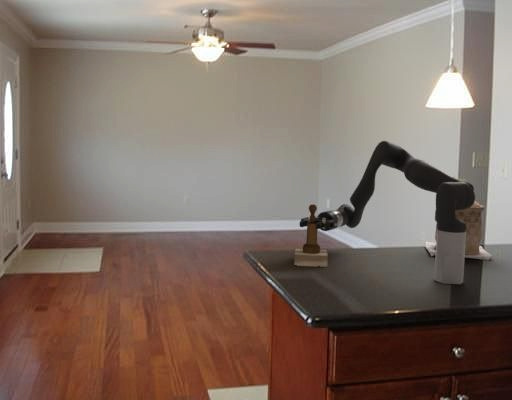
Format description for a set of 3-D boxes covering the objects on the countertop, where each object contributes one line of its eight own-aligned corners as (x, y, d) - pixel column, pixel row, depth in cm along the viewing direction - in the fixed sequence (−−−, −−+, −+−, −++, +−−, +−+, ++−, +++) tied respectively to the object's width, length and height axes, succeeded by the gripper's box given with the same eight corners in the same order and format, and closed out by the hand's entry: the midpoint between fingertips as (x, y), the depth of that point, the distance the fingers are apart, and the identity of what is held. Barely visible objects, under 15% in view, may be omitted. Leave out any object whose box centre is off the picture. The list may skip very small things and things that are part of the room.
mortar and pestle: (320, 254, 214) (322, 205, 212) (303, 253, 215) (304, 205, 213) (319, 250, 221) (320, 203, 219) (302, 250, 221) (303, 203, 219)
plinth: (327, 266, 212) (327, 256, 211) (294, 265, 213) (294, 254, 212) (326, 259, 224) (326, 249, 223) (295, 258, 225) (295, 248, 224)
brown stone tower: (493, 261, 228) (498, 180, 224) (428, 257, 233) (432, 177, 229) (482, 249, 252) (487, 175, 249) (423, 245, 257) (427, 173, 253)
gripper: (314, 209, 232) (292, 213, 218) (346, 212, 224) (326, 217, 210) (313, 227, 233) (291, 233, 219) (346, 231, 224) (325, 237, 211)
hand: (308, 225), depth 215 cm, fingers open, 6 cm apart
